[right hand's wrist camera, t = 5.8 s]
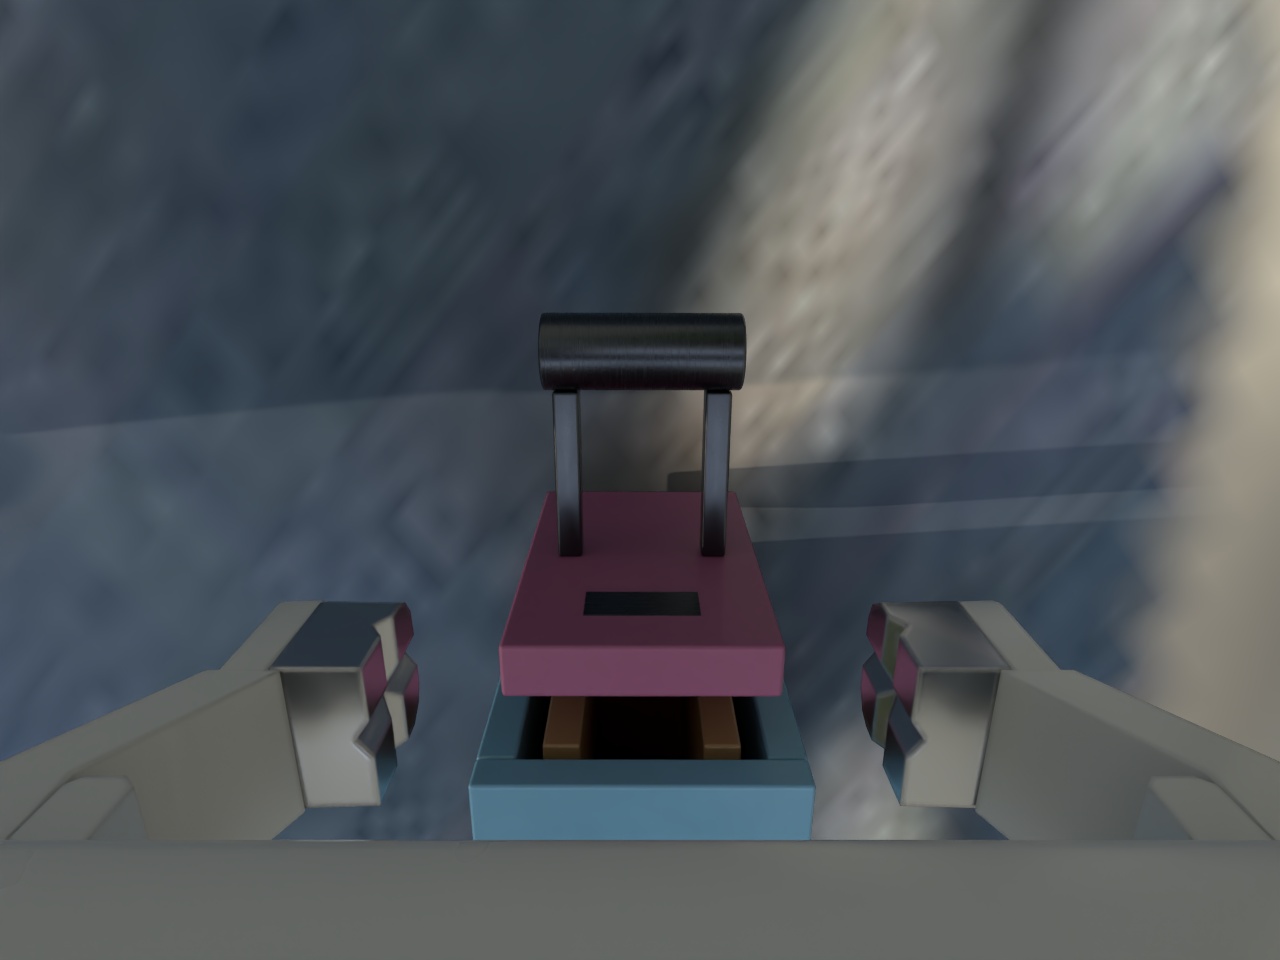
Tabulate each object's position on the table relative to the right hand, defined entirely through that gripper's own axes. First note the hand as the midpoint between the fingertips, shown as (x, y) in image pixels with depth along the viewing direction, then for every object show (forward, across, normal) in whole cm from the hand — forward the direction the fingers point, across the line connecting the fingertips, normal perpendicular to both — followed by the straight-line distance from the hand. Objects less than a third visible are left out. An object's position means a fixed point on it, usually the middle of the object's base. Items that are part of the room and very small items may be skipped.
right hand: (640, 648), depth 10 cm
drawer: (+13, 0, -8) cm, 15 cm away
